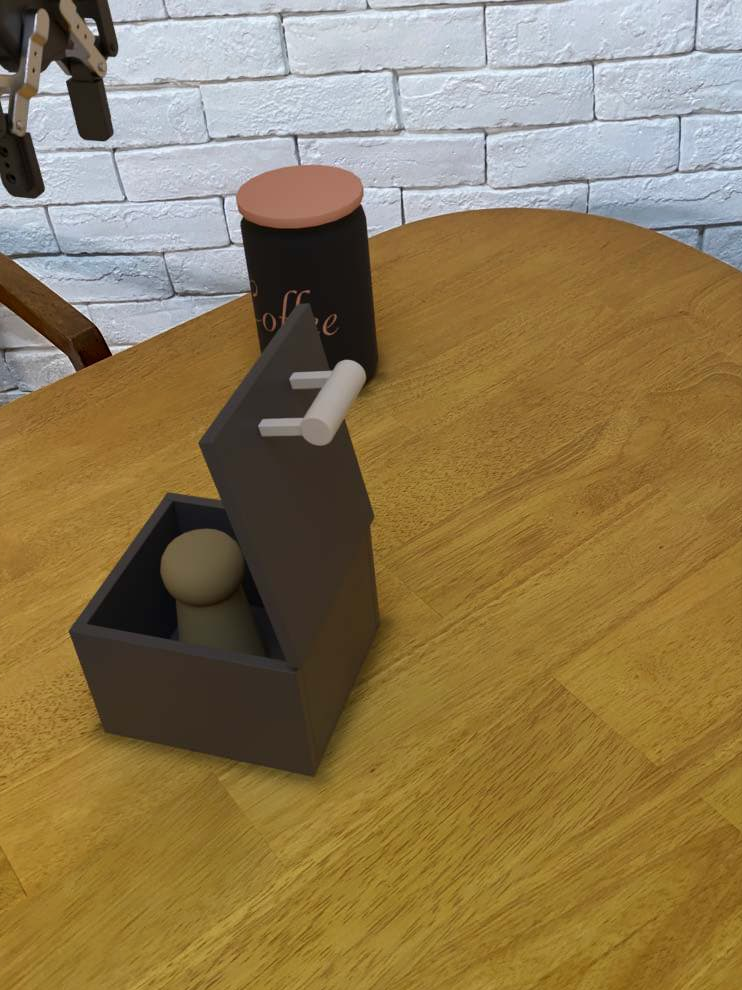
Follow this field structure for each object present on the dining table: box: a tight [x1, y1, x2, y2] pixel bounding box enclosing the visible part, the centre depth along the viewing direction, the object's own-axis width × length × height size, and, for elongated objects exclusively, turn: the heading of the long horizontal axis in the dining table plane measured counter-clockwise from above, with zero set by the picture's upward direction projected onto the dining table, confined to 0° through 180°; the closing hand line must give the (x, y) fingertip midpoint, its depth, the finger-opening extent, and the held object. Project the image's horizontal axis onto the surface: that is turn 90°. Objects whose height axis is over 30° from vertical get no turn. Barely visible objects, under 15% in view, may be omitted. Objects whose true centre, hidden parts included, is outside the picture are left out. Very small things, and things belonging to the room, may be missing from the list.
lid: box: [197, 303, 376, 668], centre depth 63 cm, size 16×14×5 cm
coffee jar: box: [235, 164, 379, 387], centre depth 99 cm, size 11×11×18 cm
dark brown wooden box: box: [68, 491, 381, 778], centre depth 74 cm, size 15×14×10 cm
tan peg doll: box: [160, 529, 270, 658], centre depth 73 cm, size 6×6×11 cm
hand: (63, 166), depth 70 cm, fingers open, 8 cm apart
